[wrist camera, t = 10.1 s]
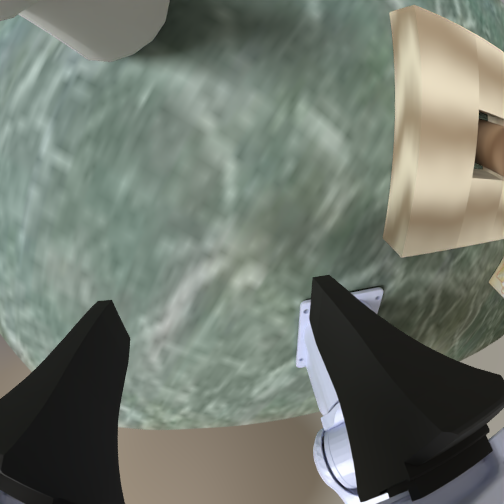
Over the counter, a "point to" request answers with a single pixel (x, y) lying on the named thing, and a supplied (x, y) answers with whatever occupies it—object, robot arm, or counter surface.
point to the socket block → (442, 136)
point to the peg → (490, 146)
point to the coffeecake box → (498, 279)
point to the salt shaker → (94, 23)
